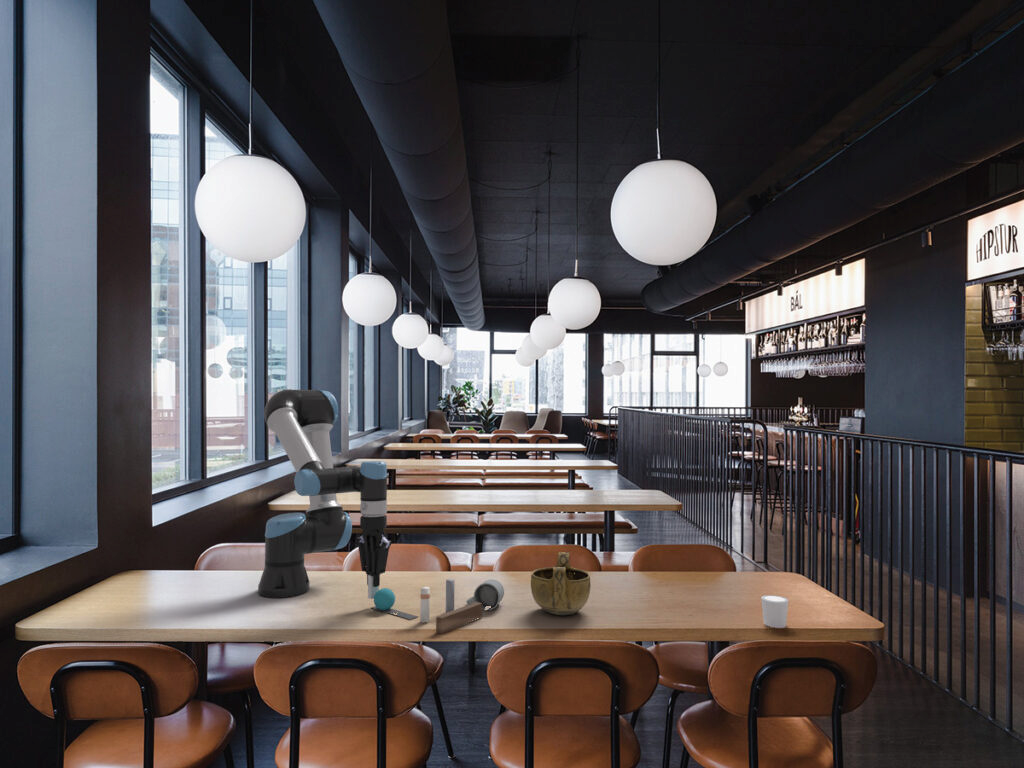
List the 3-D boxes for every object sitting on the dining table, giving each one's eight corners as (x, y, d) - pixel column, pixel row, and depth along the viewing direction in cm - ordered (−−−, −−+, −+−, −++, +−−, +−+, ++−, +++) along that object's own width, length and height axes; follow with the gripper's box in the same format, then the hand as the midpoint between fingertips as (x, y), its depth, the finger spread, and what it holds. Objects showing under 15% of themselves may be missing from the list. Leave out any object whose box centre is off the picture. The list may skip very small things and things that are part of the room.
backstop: (436, 632, 167) (436, 616, 167) (476, 616, 179) (476, 601, 180) (441, 634, 165) (442, 618, 166) (481, 618, 178) (482, 603, 178)
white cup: (756, 620, 179) (756, 594, 179) (780, 619, 180) (780, 594, 180) (768, 629, 172) (768, 602, 172) (793, 628, 173) (793, 602, 173)
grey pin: (443, 612, 182) (444, 580, 183) (449, 610, 184) (450, 578, 185) (450, 614, 181) (450, 581, 181) (455, 612, 183) (456, 580, 183)
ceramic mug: (505, 603, 192) (505, 576, 192) (499, 611, 184) (499, 584, 184) (470, 601, 194) (470, 575, 194) (463, 609, 186) (463, 582, 186)
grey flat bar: (370, 608, 186) (370, 607, 186) (378, 605, 188) (378, 605, 188) (410, 620, 176) (410, 619, 176) (418, 617, 178) (418, 616, 178)
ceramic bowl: (589, 627, 172) (589, 570, 172) (525, 623, 174) (526, 567, 175) (591, 602, 194) (591, 551, 194) (534, 598, 196) (535, 549, 197)
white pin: (418, 622, 174) (418, 588, 175) (424, 619, 176) (425, 586, 177) (424, 623, 173) (425, 589, 173) (431, 621, 175) (431, 587, 175)
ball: (369, 610, 184) (369, 589, 184) (385, 605, 188) (385, 584, 189) (383, 614, 180) (383, 592, 180) (399, 609, 185) (399, 588, 185)
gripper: (348, 514, 189) (348, 596, 188) (378, 518, 181) (378, 604, 180) (368, 511, 195) (368, 591, 194) (398, 515, 187) (398, 598, 186)
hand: (373, 597), depth 187 cm, fingers closed
